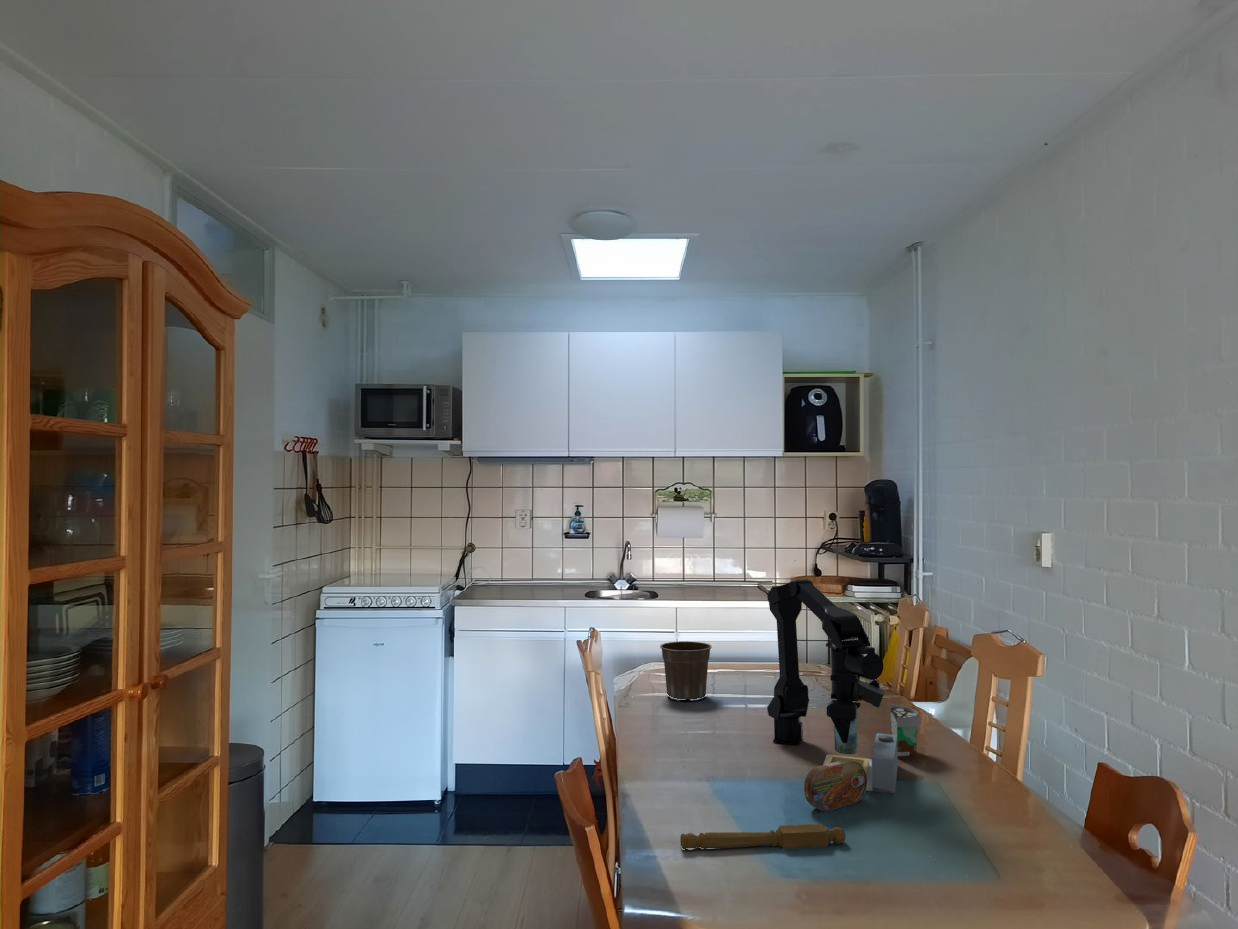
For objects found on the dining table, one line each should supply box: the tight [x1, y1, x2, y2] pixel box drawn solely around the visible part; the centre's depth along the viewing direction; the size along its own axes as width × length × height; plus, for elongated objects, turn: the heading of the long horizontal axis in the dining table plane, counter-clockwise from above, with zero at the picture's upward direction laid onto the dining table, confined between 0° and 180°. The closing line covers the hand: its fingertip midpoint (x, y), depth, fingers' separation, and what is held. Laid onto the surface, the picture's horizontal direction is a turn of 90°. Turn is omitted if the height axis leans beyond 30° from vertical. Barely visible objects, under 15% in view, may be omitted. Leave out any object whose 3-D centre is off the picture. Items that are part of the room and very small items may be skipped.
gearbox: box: [822, 732, 899, 795], centre depth 173 cm, size 16×18×8 cm
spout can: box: [833, 716, 859, 755], centre depth 175 cm, size 5×5×10 cm
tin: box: [803, 760, 867, 813], centre depth 157 cm, size 15×3×8 cm, turn 117°
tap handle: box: [679, 823, 847, 850], centre depth 139 cm, size 3×3×30 cm
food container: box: [889, 704, 921, 760], centre depth 187 cm, size 12×6×10 cm, turn 168°
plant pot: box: [659, 640, 712, 699], centre depth 243 cm, size 16×16×16 cm
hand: (845, 739), depth 175 cm, fingers closed on spout can, 5 cm apart
